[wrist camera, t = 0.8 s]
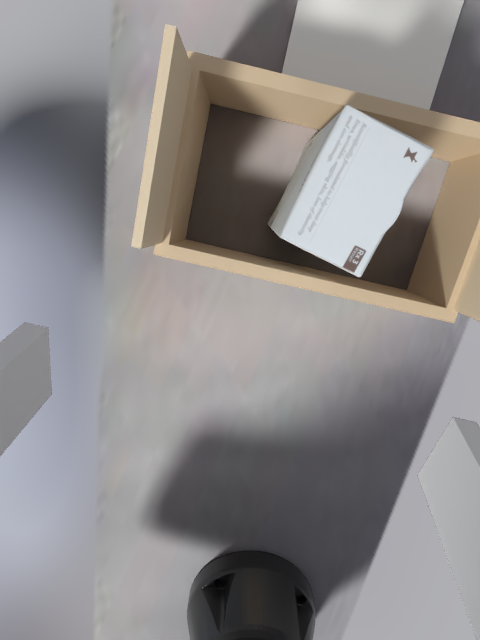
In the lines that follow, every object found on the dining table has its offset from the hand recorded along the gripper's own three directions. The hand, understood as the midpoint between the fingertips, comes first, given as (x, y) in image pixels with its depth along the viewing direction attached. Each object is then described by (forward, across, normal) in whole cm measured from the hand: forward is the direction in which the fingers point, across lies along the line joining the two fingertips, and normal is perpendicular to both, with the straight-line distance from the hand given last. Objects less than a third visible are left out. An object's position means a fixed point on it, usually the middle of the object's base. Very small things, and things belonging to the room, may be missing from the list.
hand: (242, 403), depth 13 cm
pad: (+31, -5, -15) cm, 35 cm away
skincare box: (+28, -4, -2) cm, 28 cm away
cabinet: (+28, -4, -2) cm, 28 cm away
